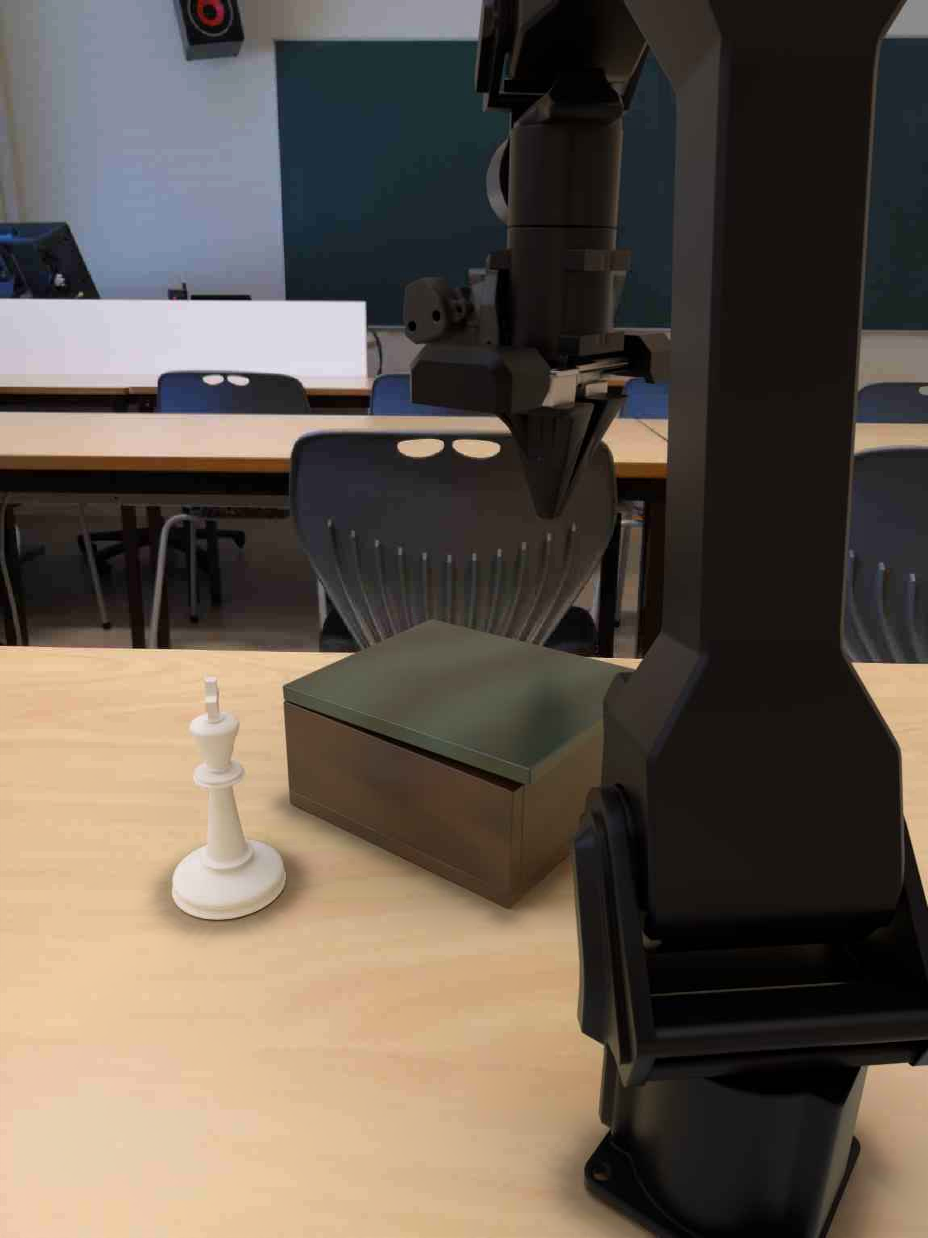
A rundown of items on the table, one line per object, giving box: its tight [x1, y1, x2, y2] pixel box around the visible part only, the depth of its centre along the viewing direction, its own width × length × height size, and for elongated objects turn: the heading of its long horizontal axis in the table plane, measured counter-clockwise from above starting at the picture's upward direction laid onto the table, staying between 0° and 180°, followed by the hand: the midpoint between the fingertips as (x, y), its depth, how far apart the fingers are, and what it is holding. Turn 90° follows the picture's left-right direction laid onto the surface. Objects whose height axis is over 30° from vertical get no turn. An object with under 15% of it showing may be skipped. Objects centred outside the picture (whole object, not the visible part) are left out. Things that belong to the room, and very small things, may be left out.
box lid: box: [282, 618, 636, 786], centre depth 46 cm, size 14×12×1 cm
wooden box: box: [283, 700, 604, 909], centre depth 47 cm, size 14×12×6 cm
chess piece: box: [171, 676, 287, 920], centre depth 40 cm, size 5×5×10 cm
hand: (548, 517), depth 55 cm, fingers closed
